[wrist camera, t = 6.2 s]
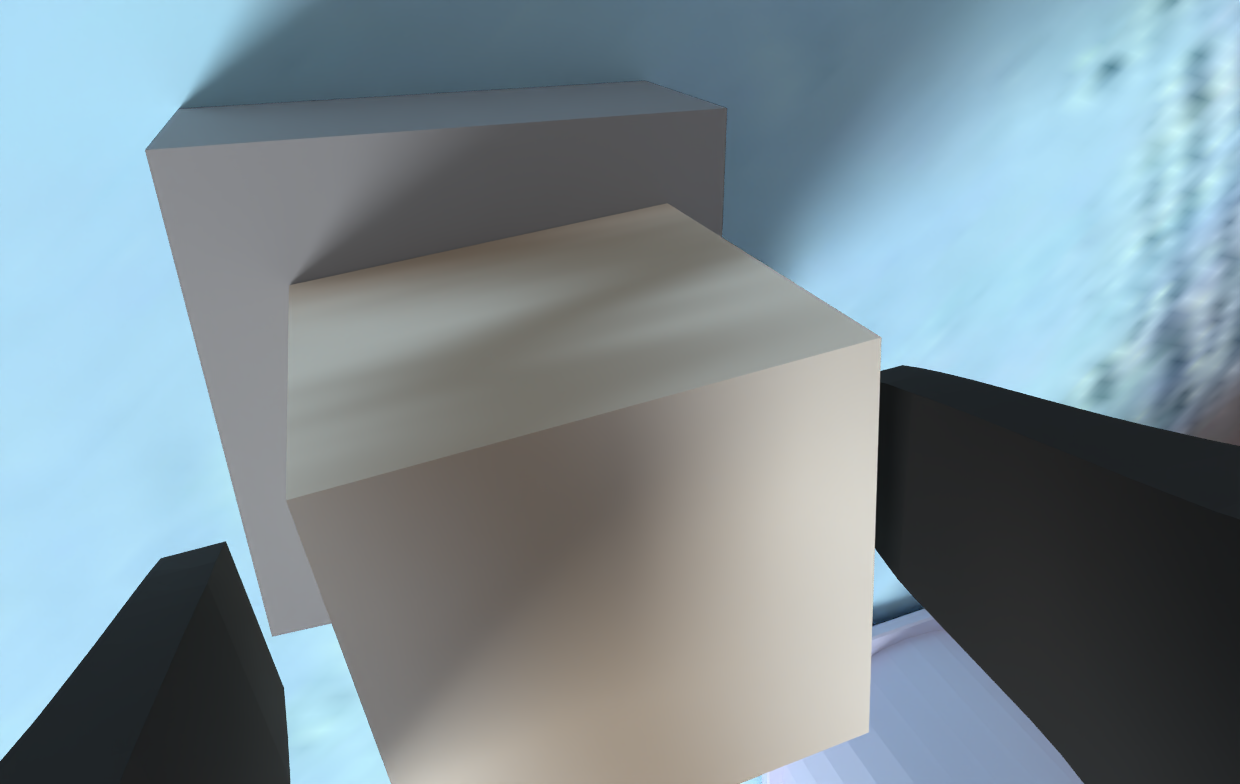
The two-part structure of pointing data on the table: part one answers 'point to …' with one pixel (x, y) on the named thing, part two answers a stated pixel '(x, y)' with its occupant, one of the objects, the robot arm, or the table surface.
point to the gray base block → (386, 231)
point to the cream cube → (589, 505)
